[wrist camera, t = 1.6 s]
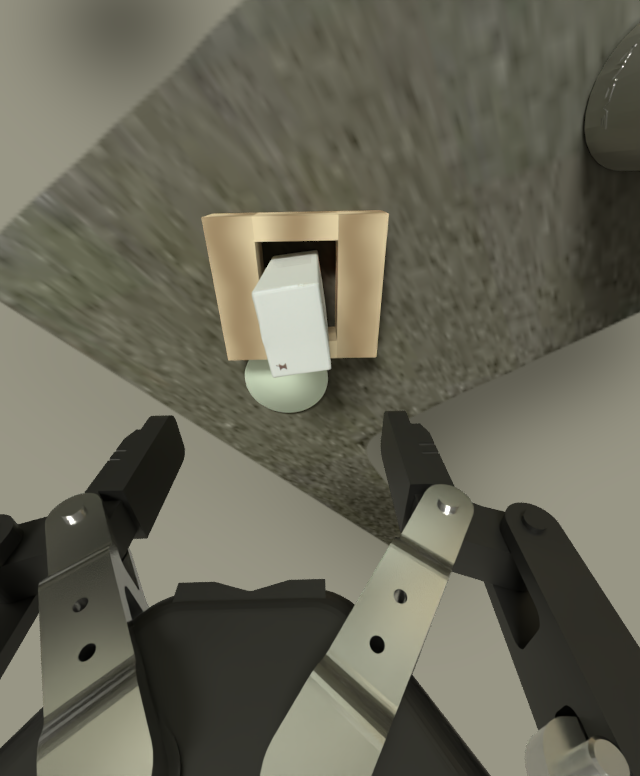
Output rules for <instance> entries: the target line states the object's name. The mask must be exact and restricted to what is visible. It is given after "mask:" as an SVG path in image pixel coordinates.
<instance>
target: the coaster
mask: <svg viewBox="0 0 640 776" xmlns="http://www.w3.org/2000/svg"><path fill="white" fill-rule="evenodd" d="M245 381H246V385H247V388H248V390H249V392H250V394H251V395H252V396H253V397H254V398H255V399H256V401H258V402H259V403H260V404H261V405H263V406H265V407H267V408H269V409H271V410H274V411H278V412H284V413H292V412H299V411H303V410H305V409H308V408H310V407H311V406H313V405H314V404H316V403H317V402H318V401H319V400H320V399H321V398H322V396H323V395H324V393H325V391H326V388H327V384H328V372H327V370H324V371H317V372H310V373H302V374H295V375H289V376H282V377H276V378H273V377H272V374H271V370H270V366H269V363H268V359H266V360H249V361H248V363H247V366H246V370H245Z"/></svg>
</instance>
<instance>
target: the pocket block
mask: <svg viewBox="0 0 640 776" xmlns="http://www.w3.org/2000/svg"><path fill="white" fill-rule="evenodd" d="M388 216H389V214H388V213H386V212H384V211H381V210H368V211H318V212H267V213H216V214H211V215H208V216H205V217H201V218H202V223H203V229H204V234H205V239H206V244H207V250H208V255H209V260H210V265H211V271H212V276H213V281H214V287H215V292H216V297H217V302H218V308H219V313H220V318H221V323H222V329H223V334H224V339H225V345H226V350H227V355H228V360H266V359H267V355H266V351H265V348H264V345H263V342H262V338H261V333H260V327H259V322H258V318H257V314H256V310H255V306H254V302H253V298H252V291H253V290H254V288H255V286H256V285H257V283H258V281H259V280H260V278H261V276H262V274H263V273H264V271H265V270H264V260H263V251H262V242H276V241H326V240H336V272H335V327H328V336H329V347H330V358H364V357H376V355H377V344H378V332H379V321H380V309H381V297H382V286H383V274H384V263H385V251H386V239H387V228H388Z"/></svg>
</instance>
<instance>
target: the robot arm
mask: <svg viewBox="0 0 640 776" xmlns="http://www.w3.org/2000/svg"><path fill="white" fill-rule="evenodd" d="M585 137H586V143H587V146H588V148H589V151H590V154H591V155H592V156H593V158H594V159H595V160H596V161H597V163H599V164H600V165H602V166H604V167H605V168H607V169H611V170H615V171H640V23H639V24H638V25H636V26H635V27H634V28H633V29H632V30H631V31H630V32H629V33H628V35H627V36H626V37H625V38H624V39H623V40H622V41H621V42H620V43H619V44H618V46H617V47H616V48H615V50H614V51H613V53H612V54H611V55H610V57H609V58H608V59H607V61H606V63H605V65H604V66H603V68H602V70H601V72H600V73H599V75H598V77H597V79H596V82H595V84H594V87H593V89H592V92H591V94H590V98H589V102H588V106H587V110H586V116H585ZM184 455H185V449H184V444H183V441H182V438H181V435H180V432H179V428H178V425H177V422H176V420H175V418H174V416H151V417H149V419H148V420H147V421H146V423H145V424H144V426H143V427H142V429H141V430H135V431H134V432H133V433H131V434H130V435H129V436H127V437H126V438H125V439H124V440H123V441H122V443H121V444H120V445H119V447H118V448H117V450H116V452H114V454H113V455H112V456H111V457H110V461H107V463H106V464H105V466H104V467H103V468H102V470H101V471H100V472H99V474H98V475H97V476H96V478H95V479H94V480H93V482H92V483H91V485H90V486H89V487H88V489H87V490H86V491H85V493H82V494H78V495H75V496H72V497H70V498H68V499H66V500H65V501H63V502H61V503H60V504H59V505H57V506H56V507H55V508H54V509H53V510H52V511H51V512H50V513H49V515H48V516H47V517H44V518H40V519H37V520H33V521H29V522H25V523H22V524H17V523H16V522H15V521H14V520H13V518H12V517H11V516H9V515H4V514H0V679H1V677H2V675H3V674H4V672H5V670H6V668H7V666H8V665H9V663H10V662H11V660H12V658H13V656H14V655H15V653H16V651H17V650H18V648H19V646H20V644H21V643H22V641H23V639H24V638H25V636H26V634H27V632H28V631H29V629H30V627H31V626H32V624H33V622H34V620H35V619H36V617H37V615H38V614H39V621H40V645H41V666H42V690H43V707H42V709H40V710H39V712H37V713H36V714H35V715H34V716H33V717H32V718H31V719H30V720H29V721H28V722H27V723H26V724H25V725H24V726H23V727H22V728H21V729H20V730H19V731H18V732H17V733H16V734H15V735H13V736H12V737H11V738H10V739H9V740H8V741H7V742H6V743H5V744H4V745H3V746H2V747H1V748H0V776H490V774H489V773H488V772H487V770H486V769H485V768H484V766H483V765H482V764H481V763H480V761H479V760H478V759H477V757H476V756H475V755H474V754H473V752H472V751H471V750H470V748H469V747H468V746H467V745H466V743H465V742H464V741H463V740H462V738H461V737H460V736H459V734H458V733H457V732H456V731H455V729H454V728H453V727H452V725H451V724H450V723H449V721H448V720H447V719H446V717H445V716H444V715H443V714H442V712H441V711H440V710H439V708H438V707H437V706H436V705H435V703H434V702H433V701H432V700H431V698H430V697H429V696H428V694H427V693H426V692H425V691H424V689H423V688H422V687H421V685H420V684H419V683H418V681H417V680H416V679H415V678H414V676H413V675H412V674H413V671H414V669H415V666H416V663H417V661H418V658H419V656H420V653H421V650H422V648H423V645H424V642H425V640H426V637H427V635H428V632H429V629H430V627H431V624H432V621H433V619H434V616H435V614H436V611H437V609H438V606H439V603H440V601H441V598H442V596H443V593H444V590H445V588H446V585H447V583H448V580H449V577H450V575H451V572H455V573H458V574H461V575H465V576H468V577H472V578H475V579H478V580H481V581H484V583H485V586H486V589H487V592H488V594H489V597H490V600H491V603H492V605H493V608H494V611H495V613H496V616H497V619H498V621H499V624H500V627H501V630H502V632H503V635H504V638H505V641H506V643H507V646H508V649H509V651H510V654H511V657H512V660H513V662H514V665H515V668H516V671H517V673H518V676H519V679H520V681H521V684H522V687H523V690H524V692H525V695H526V698H527V700H528V703H529V706H530V709H531V711H532V714H533V717H534V720H535V722H536V725H537V728H538V730H539V731H538V732H537V733H535V734H534V735H533V736H532V737H531V738H530V739H529V741H528V743H527V745H526V750H525V765H526V771H527V776H640V647H639V646H638V644H637V643H636V641H635V640H634V638H633V637H632V635H631V634H630V632H629V631H628V629H627V628H626V626H625V624H624V623H623V621H622V620H621V618H620V617H619V615H618V614H617V612H616V611H615V609H614V607H613V606H612V604H611V603H610V601H609V600H608V598H607V597H606V595H605V594H604V592H603V591H602V589H601V588H600V586H599V584H598V583H597V581H596V580H595V578H594V577H593V575H592V574H591V572H590V571H589V569H588V567H587V566H586V564H585V563H584V561H583V560H582V558H581V557H580V555H579V554H578V552H577V551H576V549H575V547H574V546H573V544H572V543H571V541H570V540H569V538H568V537H567V535H566V534H565V532H564V531H563V529H562V528H561V526H560V525H559V523H558V522H557V521H556V519H555V518H554V517H552V516H551V515H550V514H549V513H548V512H546V511H545V510H543V509H541V508H539V507H537V506H535V505H532V504H527V503H514V504H512V505H510V506H509V507H508V508H507V509H506V511H505V512H503V511H499V510H495V509H491V508H487V507H483V506H480V505H477V504H475V503H472V502H471V500H470V498H469V497H468V496H467V495H466V494H465V493H463V491H461V490H460V489H458V488H456V487H454V485H453V482H452V480H451V478H450V476H449V474H448V472H447V469H446V467H445V465H444V463H443V461H442V459H441V457H440V454H438V450H437V448H436V446H435V445H434V441H433V439H432V437H431V435H430V433H429V432H428V431H427V430H426V429H425V428H424V427H423V426H422V425H421V424H411V423H410V421H409V418H408V416H407V413H406V411H385V413H384V418H383V427H382V436H381V455H382V460H383V463H384V468H385V472H386V476H387V480H388V484H389V488H390V492H391V496H392V500H393V504H394V508H395V512H396V516H397V520H398V524H399V528H400V532H401V533H402V534H401V535H400V537H399V538H397V537H396V538H394V539H393V541H392V542H391V544H390V545H389V547H388V549H387V551H386V552H385V554H384V556H383V557H382V559H381V561H380V563H379V564H378V566H377V568H376V570H375V571H374V573H373V575H372V576H371V578H370V580H369V581H368V583H367V585H366V587H365V588H364V590H363V592H362V594H361V595H360V597H359V599H358V600H357V602H356V604H355V605H354V604H353V603H352V602H351V601H349V600H348V599H346V598H344V597H342V596H340V595H338V594H336V593H333V592H330V591H326V590H325V579H311V580H310V579H309V580H288V581H284V582H281V583H278V584H274V585H271V586H268V587H264V588H261V589H257V590H254V591H246V590H242V589H239V588H235V587H231V586H228V585H224V584H220V583H216V582H194V583H179V584H178V586H177V590H176V592H175V595H174V596H172V597H169V598H167V599H165V600H162V601H160V602H158V603H156V604H155V605H153V606H151V607H150V608H149V606H148V604H147V602H146V599H145V596H144V593H143V590H142V587H141V583H140V580H139V577H138V573H137V570H136V567H135V563H134V560H133V557H132V553H131V551H130V549H129V546H130V544H131V542H132V540H133V539H141V538H142V539H143V538H148V535H149V533H150V531H151V529H152V527H153V525H154V523H155V520H156V518H157V516H158V514H159V512H160V510H161V507H162V505H163V503H164V501H165V499H166V497H167V495H168V493H169V491H170V488H171V486H172V484H173V482H174V480H175V478H176V476H177V473H178V471H179V469H180V467H181V465H182V462H183V460H184Z"/></svg>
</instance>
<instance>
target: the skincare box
mask: <svg viewBox="0 0 640 776" xmlns="http://www.w3.org/2000/svg"><path fill="white" fill-rule="evenodd" d="M252 298H253V302H254V306H255V310H256V314H257V318H258V322H259V327H260V333H261V338H262V342H263V345H264V348H265V351H266V355H267V359H268V363H269V366H270V370H271V374H272V377H273V378H276V377H282V376H289V375H295V374H302V373H310V372H317V371H324V370H330V369H331V359H330V347H329V336H328V325H327V315H326V306H325V298H324V291H323V284H322V277H321V271H320V264H319V257H318V251H317V250H312V251H305V252H298V253H291V254H284V255H277V256H273V257H272V259H271V261H270V262H269V264H268V266H267V268H266V269H265V271H264V273H263V274H262V276H261V278H260V280H259V281H258V283H257V285H256V286H255V288H254V290H253V291H252Z"/></svg>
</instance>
